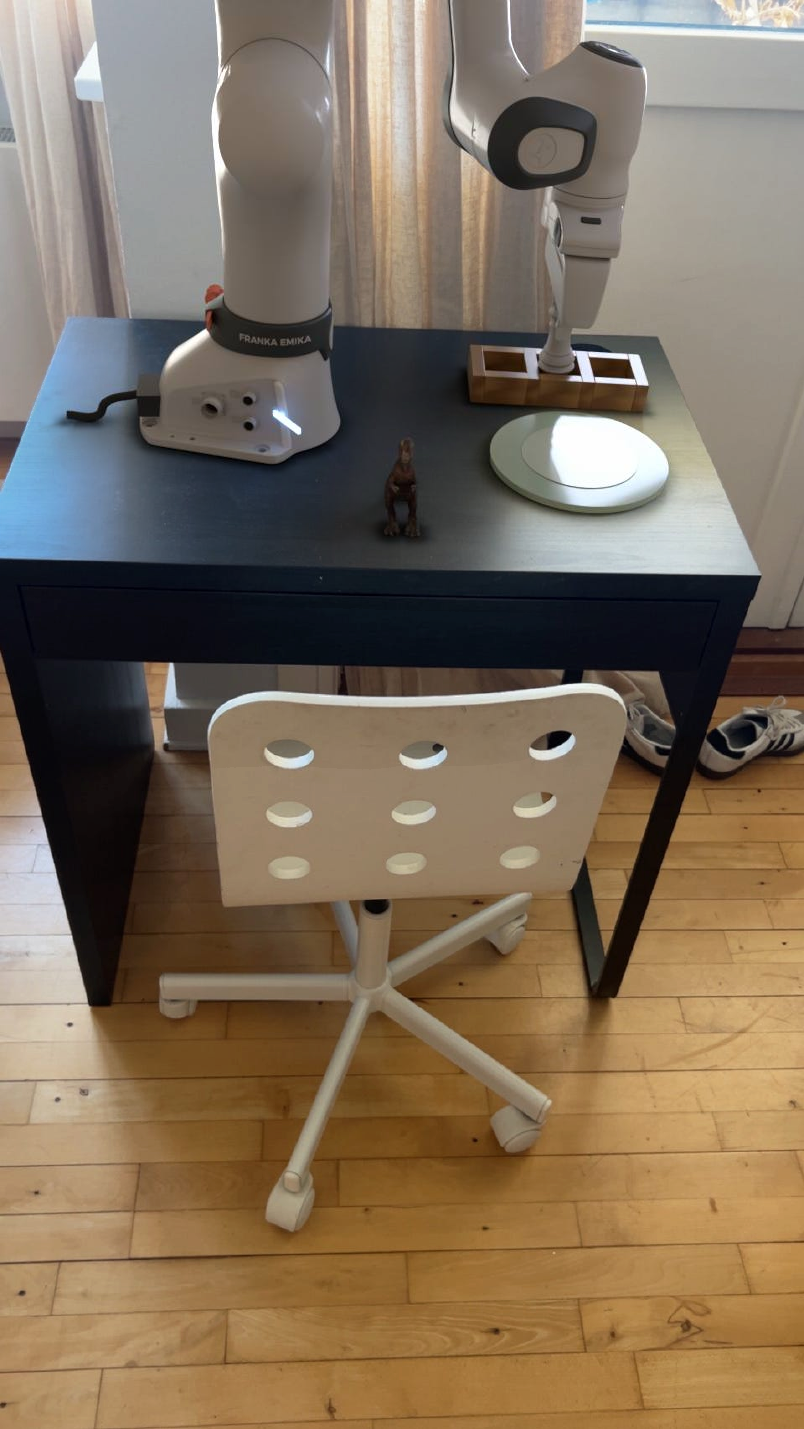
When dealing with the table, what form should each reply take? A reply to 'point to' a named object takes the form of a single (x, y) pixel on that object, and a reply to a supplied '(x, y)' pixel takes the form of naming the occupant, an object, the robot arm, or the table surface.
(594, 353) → the rack
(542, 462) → the plate
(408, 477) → the dinosaur model
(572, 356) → the rook chess piece
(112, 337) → the table surface
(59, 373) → the table surface
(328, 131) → the robot arm
